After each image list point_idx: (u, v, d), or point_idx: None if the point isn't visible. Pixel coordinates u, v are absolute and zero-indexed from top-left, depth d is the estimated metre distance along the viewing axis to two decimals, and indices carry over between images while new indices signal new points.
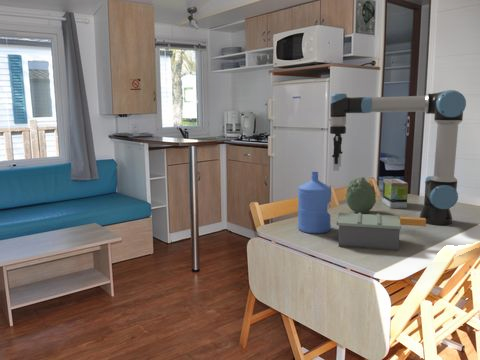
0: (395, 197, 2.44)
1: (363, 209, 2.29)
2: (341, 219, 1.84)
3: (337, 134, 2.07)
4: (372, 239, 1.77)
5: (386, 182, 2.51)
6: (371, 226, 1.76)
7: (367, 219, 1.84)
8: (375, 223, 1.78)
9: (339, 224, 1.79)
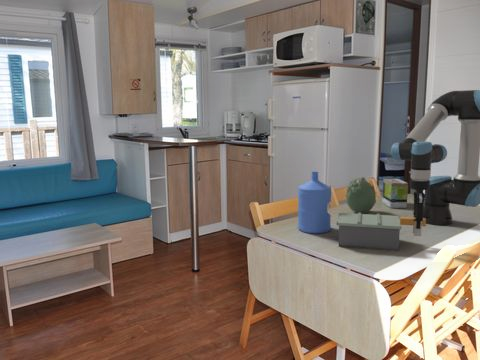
0: (395, 197, 2.44)
1: (363, 209, 2.29)
2: (341, 219, 1.84)
3: (420, 190, 1.73)
4: (372, 239, 1.77)
5: (386, 182, 2.51)
6: (371, 226, 1.76)
7: (367, 219, 1.84)
8: (375, 223, 1.78)
9: (339, 224, 1.79)
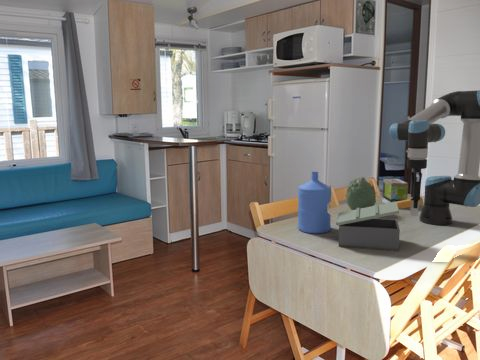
0: (395, 197, 2.44)
1: None
2: (340, 218, 1.84)
3: (417, 169, 1.71)
4: (372, 239, 1.77)
5: (386, 182, 2.51)
6: (370, 218, 1.75)
7: (366, 212, 1.83)
8: (374, 213, 1.77)
9: (339, 224, 1.79)
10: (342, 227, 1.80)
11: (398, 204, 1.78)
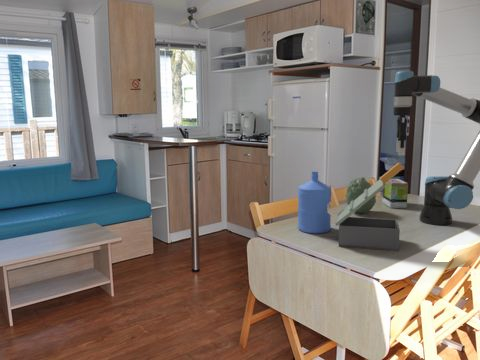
0: (395, 197, 2.44)
1: (363, 209, 2.29)
2: (338, 218, 1.85)
3: (403, 115, 1.89)
4: (372, 239, 1.77)
5: (386, 182, 2.51)
6: (362, 204, 1.75)
7: (358, 200, 1.83)
8: (364, 198, 1.77)
9: (338, 223, 1.79)
10: (342, 227, 1.80)
11: (382, 179, 1.78)
